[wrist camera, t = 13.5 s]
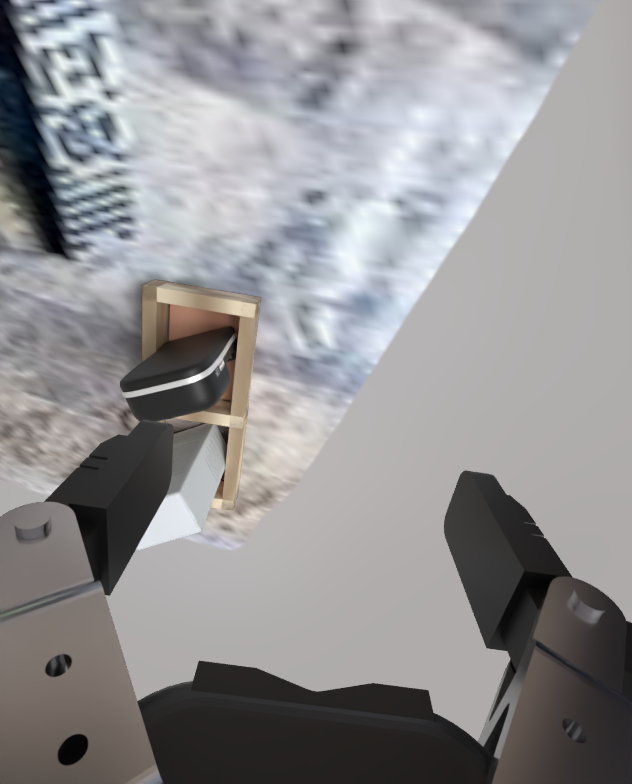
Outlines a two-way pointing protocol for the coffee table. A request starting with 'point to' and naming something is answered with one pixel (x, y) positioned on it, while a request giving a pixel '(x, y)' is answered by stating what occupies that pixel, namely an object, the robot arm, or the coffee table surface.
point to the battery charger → (181, 376)
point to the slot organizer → (214, 311)
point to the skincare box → (189, 485)
